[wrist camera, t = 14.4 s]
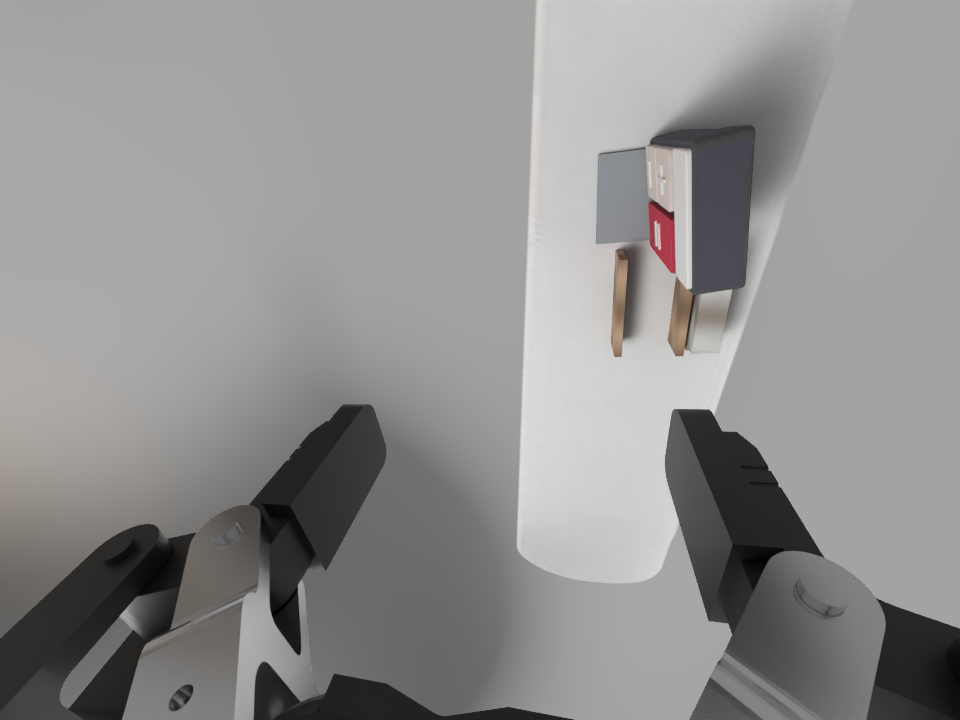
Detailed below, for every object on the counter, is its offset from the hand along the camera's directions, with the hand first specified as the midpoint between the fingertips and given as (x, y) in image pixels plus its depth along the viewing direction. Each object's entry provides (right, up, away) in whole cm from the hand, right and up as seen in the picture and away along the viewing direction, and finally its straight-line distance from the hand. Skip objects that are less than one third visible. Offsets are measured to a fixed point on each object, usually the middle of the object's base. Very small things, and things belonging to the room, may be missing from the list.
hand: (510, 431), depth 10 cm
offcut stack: (+25, +9, +34) cm, 43 cm away
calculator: (+19, +19, +29) cm, 40 cm away
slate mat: (+18, +19, +30) cm, 40 cm away
